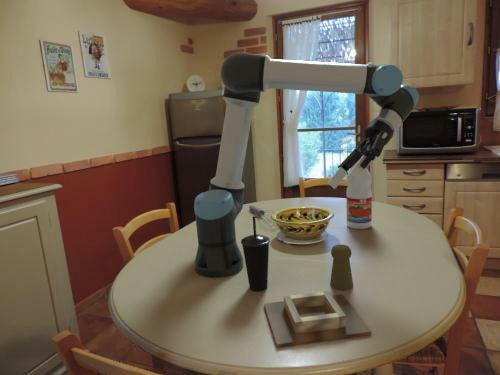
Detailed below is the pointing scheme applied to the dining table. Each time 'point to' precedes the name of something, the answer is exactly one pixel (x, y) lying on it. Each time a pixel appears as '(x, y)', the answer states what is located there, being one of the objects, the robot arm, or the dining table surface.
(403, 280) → the dining table surface
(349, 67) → the robot arm
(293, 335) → the well board
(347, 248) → the olive green peg doll
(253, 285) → the drinking cup
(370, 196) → the fruit juice
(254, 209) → the kitchen whisk
